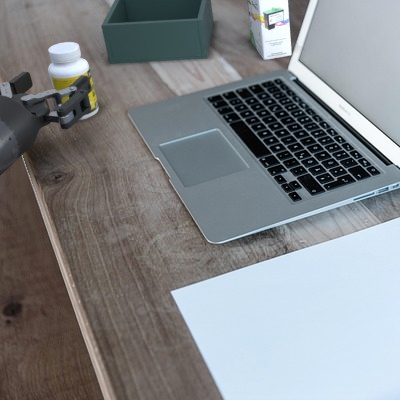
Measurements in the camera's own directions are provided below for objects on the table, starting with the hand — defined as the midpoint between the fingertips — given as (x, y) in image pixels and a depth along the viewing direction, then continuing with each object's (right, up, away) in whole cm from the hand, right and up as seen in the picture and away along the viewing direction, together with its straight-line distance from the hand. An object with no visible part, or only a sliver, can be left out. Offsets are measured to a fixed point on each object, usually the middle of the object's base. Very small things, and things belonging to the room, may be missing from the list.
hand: (57, 79), depth 94 cm
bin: (+9, +11, +26) cm, 29 cm away
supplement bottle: (+1, -4, +6) cm, 7 cm away
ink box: (+27, +9, +22) cm, 36 cm away
